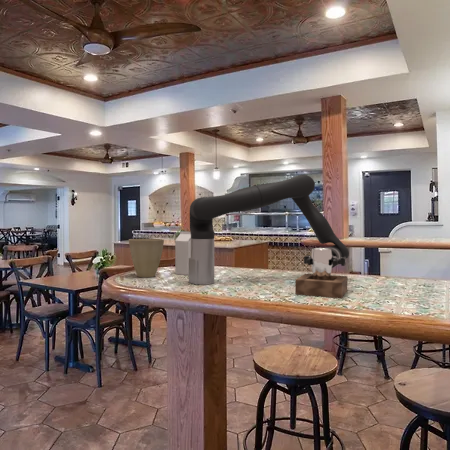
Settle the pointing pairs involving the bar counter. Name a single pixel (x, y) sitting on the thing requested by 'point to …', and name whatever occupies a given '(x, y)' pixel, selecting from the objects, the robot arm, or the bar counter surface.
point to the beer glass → (321, 263)
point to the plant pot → (146, 256)
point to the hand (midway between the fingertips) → (321, 262)
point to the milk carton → (182, 253)
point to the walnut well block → (321, 286)
